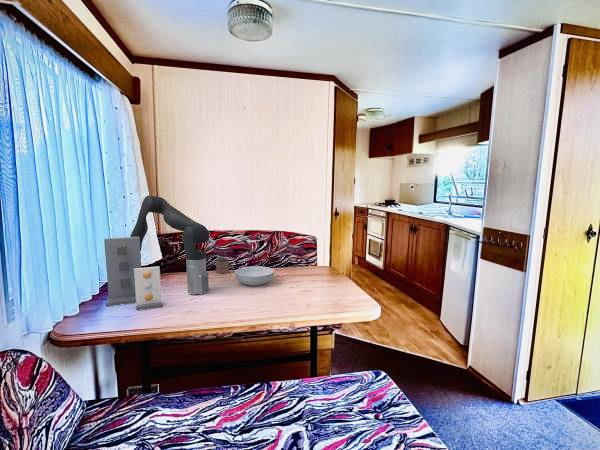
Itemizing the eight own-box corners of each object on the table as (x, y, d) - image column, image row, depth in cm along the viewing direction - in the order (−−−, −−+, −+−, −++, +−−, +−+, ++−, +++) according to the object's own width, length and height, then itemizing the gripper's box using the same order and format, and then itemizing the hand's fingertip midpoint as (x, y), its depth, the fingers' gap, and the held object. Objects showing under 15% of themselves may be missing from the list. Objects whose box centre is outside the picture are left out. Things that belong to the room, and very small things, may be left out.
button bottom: (122, 282, 156) (122, 275, 156) (131, 281, 158) (130, 274, 157) (120, 288, 148) (120, 280, 148) (129, 287, 150) (128, 279, 149)
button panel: (110, 296, 155) (105, 236, 151) (144, 292, 161) (141, 234, 157) (105, 306, 143) (100, 241, 139) (143, 301, 149) (139, 239, 145)
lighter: (230, 272, 196) (229, 256, 194) (228, 274, 192) (227, 257, 191) (217, 272, 196) (216, 256, 195) (215, 274, 193) (214, 257, 192)
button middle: (121, 266, 155) (121, 259, 155) (129, 265, 157) (129, 258, 156) (119, 271, 147) (119, 263, 147) (128, 270, 149) (127, 262, 148)
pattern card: (137, 305, 144) (134, 267, 142) (161, 302, 148) (159, 265, 145) (136, 310, 138) (133, 270, 136) (161, 307, 142) (159, 268, 140)
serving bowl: (272, 289, 166) (272, 276, 165) (231, 289, 166) (230, 276, 165) (275, 277, 187) (275, 265, 186) (239, 277, 187) (239, 265, 186)
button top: (119, 251, 151) (119, 244, 151) (128, 250, 153) (127, 243, 152) (117, 255, 143) (116, 247, 143) (126, 254, 145) (125, 247, 144)
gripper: (114, 247, 173) (110, 254, 157) (142, 245, 178) (140, 252, 162) (115, 261, 174) (111, 269, 158) (143, 259, 179) (141, 267, 163)
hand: (126, 261), depth 160 cm, fingers closed
